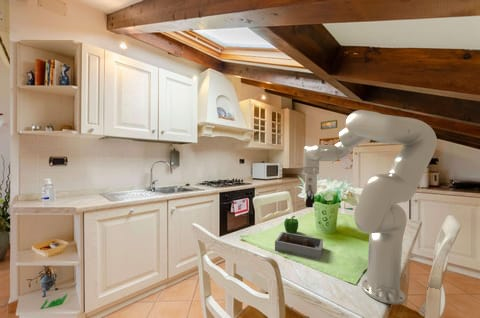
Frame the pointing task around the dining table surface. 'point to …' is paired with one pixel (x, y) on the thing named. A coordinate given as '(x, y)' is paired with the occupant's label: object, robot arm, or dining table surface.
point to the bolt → (298, 241)
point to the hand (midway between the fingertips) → (310, 205)
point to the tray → (300, 246)
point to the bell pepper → (291, 225)
